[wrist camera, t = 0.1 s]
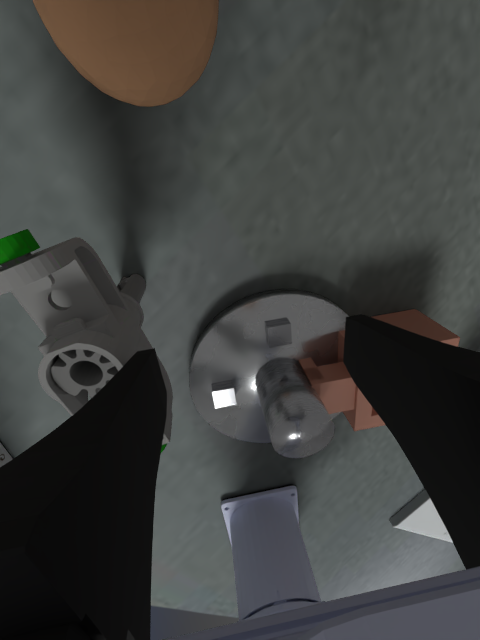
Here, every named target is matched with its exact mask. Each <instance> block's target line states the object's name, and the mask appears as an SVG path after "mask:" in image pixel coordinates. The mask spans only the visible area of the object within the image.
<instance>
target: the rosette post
mask: <svg viewBox="0 0 480 640" xmlns="http://www.w3.org/2000/svg"><path fill="white" fill-rule="evenodd" d="M346 317H349V316H348V315H347V314H346V313H345V312H344V311H343V310H342V309H341V308H340V307H338V306H337V305H336V304H335V303H333V302H332V301H330V300H329V299H327V298H325V297H322V296H320V295H318V294H315V293H311V292H308V291H303V290H296V289H279V290H270V291H265V292H261V293H257V294H254V295H251V296H249V297H246V298H244V299H242V300H240V301H238V302H236V303H234V304H232V305H231V306H229V307H228V308H226V309H225V310H223V311H222V312H221V313H220V314H219V315H217V316H216V317H215V318H214V319H213V320H212V321H211V322H210V323H209V325H208V326H207V327H206V328H205V329H204V331H203V332H202V334H201V335H200V337H199V339H198V341H197V343H196V345H195V347H194V350H193V353H192V356H191V362H190V373H189V386H190V392H191V397H192V400H193V403H194V405H195V407H196V409H197V410H198V412H199V414H200V415H201V416H202V417H203V419H204V420H205V421H206V422H207V423H208V424H209V425H210V426H212V427H213V428H214V429H216V430H217V431H219V432H221V433H223V434H225V435H226V436H229V437H232V438H234V439H237V440H241V441H246V442H253V443H272V446H273V448H274V449H275V451H276V452H277V453H279V454H280V455H282V456H285V457H288V458H303V457H307V456H310V455H313V454H315V453H317V452H319V451H321V450H322V449H323V448H325V447H326V446H327V445H328V444H329V442H330V441H331V439H332V438H333V435H334V432H335V426H334V423H333V421H332V419H333V418H335V417H336V416H337V415H338V414H339V413H340V412H338V413H333V414H329V413H328V411H327V410H326V408H325V406H324V404H323V402H322V400H321V399H320V397H319V395H318V393H317V392H316V390H315V389H314V388H313V387H312V386H311V384H310V382H309V380H308V379H307V377H306V375H305V373H304V371H303V369H302V367H301V366H300V364H299V362H298V360H300V359H305V358H312V360H313V361H314V363H315V365H316V366H323V365H328V364H334V363H337V357H338V331H342V330H345V322H346Z"/></svg>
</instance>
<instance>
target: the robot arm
mask: <svg viewBox="0 0 480 640" xmlns="http://www.w3.org/2000/svg"><path fill="white" fill-rule="evenodd" d="M343 362H344V364H345V366H346V368H347V370H348V372H349V374H350V376H351V377H352V379H353V381H354V383H355V384H356V386H357V387H358V388H359V390H360V391H361V392H362V394H363V395H364V397H365V398H366V399H367V401H368V402H369V403H370V405H371V406H372V407H373V409H374V410H375V411H376V413H377V414H378V415H379V417H380V418H381V419H382V421H383V422H384V423H385V425H386V426H387V427H388V429H389V430H390V431H391V433H392V434H393V436H394V437H395V439H396V440H397V442H398V443H399V445H400V447H401V448H402V450H403V452H404V453H405V455H406V457H407V458H408V460H409V462H410V463H411V465H412V467H413V468H414V470H415V472H416V474H417V475H418V477H419V479H420V481H421V482H422V484H423V486H424V488H425V490H426V491H427V493H428V495H429V497H430V499H431V501H432V503H433V504H434V506H435V508H436V510H437V512H438V514H439V516H440V518H441V520H442V522H443V523H444V525H445V527H446V529H447V531H448V533H449V535H450V537H451V539H452V541H453V543H454V545H455V547H456V550H457V552H458V554H459V556H460V558H461V560H462V562H463V564H464V566H465V568H466V570H462V571H457V572H453V573H449V574H444V575H440V576H436V577H431V578H427V579H423V580H418V581H414V582H410V583H405V584H401V585H397V586H392V587H388V588H384V589H379V590H375V591H371V592H366V593H362V594H358V595H353V596H349V597H345V598H340V599H336V600H332V601H327V602H325V601H322V602H321V599H320V595H319V592H318V589H317V585H316V582H315V578H314V575H313V571H312V568H311V565H310V561H309V558H308V554H307V551H306V547H305V544H304V541H303V537H302V534H301V530H300V527H299V515H298V497H297V489H296V487H295V486H287V487H283V488H278V489H273V490H268V491H264V492H259V493H254V494H250V495H245V496H240V497H235V498H231V499H226V500H223V501H222V502H221V508H222V512H223V515H224V519H225V523H226V527H227V531H228V535H229V539H230V543H231V546H232V553H233V563H234V573H235V584H236V594H237V604H238V614H239V621H238V622H236V623H232V624H228V625H224V626H219V627H215V628H211V629H206V630H202V631H197V632H193V633H189V634H184V635H180V636H176V637H171V638H168V639H163V640H480V352H476V351H472V350H468V349H464V348H460V347H457V346H453V345H450V344H446V343H443V342H440V341H437V340H434V339H431V338H428V337H425V336H422V335H419V334H416V333H413V332H410V331H408V330H405V329H402V328H399V327H397V326H394V325H391V324H389V323H386V322H383V321H381V320H378V319H375V318H372V317H369V316H365V315H356V316H350V317H346V322H345V339H344V355H343ZM166 415H167V390H166V387H165V383H164V380H163V376H162V373H161V369H160V366H159V362H158V359H157V355H156V352H155V348H154V349H147V350H141V351H137V352H136V353H135V354H134V355H133V356H132V357H131V358H130V359H129V360H128V361H127V363H126V364H125V365H124V366H123V367H122V368H121V369H120V370H119V371H118V372H117V373H116V374H115V375H114V376H113V378H112V379H111V380H110V381H109V382H108V383H107V384H106V385H105V386H104V387H103V388H102V389H101V390H100V391H99V392H98V393H97V394H96V395H94V396H93V397H92V398H91V399H90V400H89V401H88V402H87V403H86V404H85V405H84V406H83V407H82V408H81V409H80V410H78V411H77V412H76V413H75V414H74V415H73V416H71V417H70V418H69V419H68V420H66V421H65V422H64V423H63V424H61V425H60V426H59V427H58V428H56V429H55V430H54V431H52V432H51V433H50V434H48V435H47V436H46V437H44V438H43V439H41V440H40V441H38V442H37V443H36V444H34V445H33V446H31V447H30V448H29V449H27V450H26V451H24V452H23V453H22V454H20V455H19V456H17V457H16V458H14V459H12V460H11V461H9V462H8V463H6V464H5V465H3V466H1V467H0V640H150V609H151V566H152V539H153V518H154V502H155V487H156V479H157V472H158V466H159V460H160V454H161V448H162V442H163V436H164V429H165V423H166Z"/></svg>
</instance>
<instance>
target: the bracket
mask: <svg viewBox="0 0 480 640" xmlns="http://www.w3.org/2000/svg"><path fill="white" fill-rule="evenodd" d="M372 318H375V319H378V320H381V321H383V322H386V323H389V324H391V325H394V326H397V327H399V328H402V329H405V330H408V331H410V332H413V333H416V334H419V335H422V336H425V337H428V338H431V339H434V340H437V341H440V342H443V343H446V344H450V345H453V346H457V347H458V344H459V340H460V337H459V336H457V335H455V334H454V333H452V332H451V331H449V330H448V329H446V328H444V327H443V326H441V325H440V324H438V323H437V322H435V321H433V320H432V319H430V318H429V317H427V316H426V315H424V314H422V313H421V312H419V311H418V310H416V309H412V310H406V311H401V312H395V313H389V314H384V315H378V316H372ZM344 339H345V330H342V331H338V357H337V363H334V364H328V365H323V366H316V365H315V363H314V361H313V360H312V358H305V359H300V360H298V362H299V364H300V366H301V367H302V369H303V371H304V373H305V375H306V377H307V379H308V380H309V382H310V384H311V386H312V387H313V388H314V389H315V390H316V392H317V393H318V395H319V397H320V399H321V400H322V402H323V404H324V406H325V408H326V410H327V411H328V413H329V414H333V413H338V412H343V413H344V415H345V416H346V418H347V420H348V421H349V423H350V424H351V426H352V428H353V429H354V431H358V430H363V429H368V428H373V427H378V426H383V425H385V423H384V422H383V421H382V419H381V418H380V417H379V415H378V414H377V413H376V411H375V410H374V409H373V407H372V406H371V405H370V403H369V402H368V401H367V399H366V398H365V397H364V395H363V394H362V392H361V391H360V390H359V388H358V387H357V386H356V384H355V383H354V381H353V379H352V377H351V376H350V374H349V372H348V370H347V368H346V366H345V364H344V362H343V355H344Z"/></svg>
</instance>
